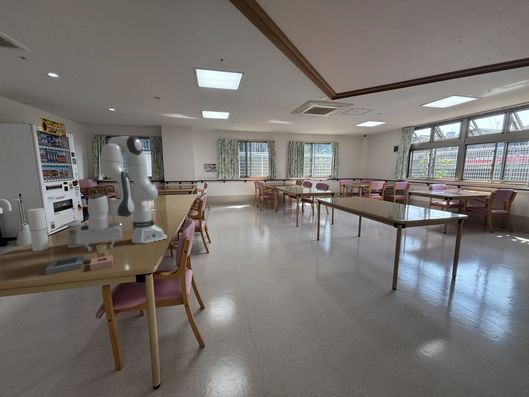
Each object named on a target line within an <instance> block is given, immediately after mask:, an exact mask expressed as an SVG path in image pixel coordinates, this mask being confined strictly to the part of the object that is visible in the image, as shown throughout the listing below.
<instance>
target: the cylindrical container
mask: <svg viewBox="0 0 529 397" xmlns="http://www.w3.org/2000/svg"><path fill="white" fill-rule="evenodd" d="M27 216H28V224H29V232H30V233H29V234H30V238H31V239H30V240H31V248H32V251H33V252H38V251H44V250H47V249H49V248H50V244H49V236H48V228H47V227H48V226H47V220H46V213H45V208H43V207H42V208H31V209H27Z"/></svg>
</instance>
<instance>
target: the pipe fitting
mask: <svg viewBox="0 0 529 397" xmlns="http://www.w3.org/2000/svg"><path fill="white" fill-rule="evenodd" d="M108 246H109V245H108V244H107V243H102V244H98V245H96V246H95V247H96V258H99V257H104V256H110V255H109V247H108Z"/></svg>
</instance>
